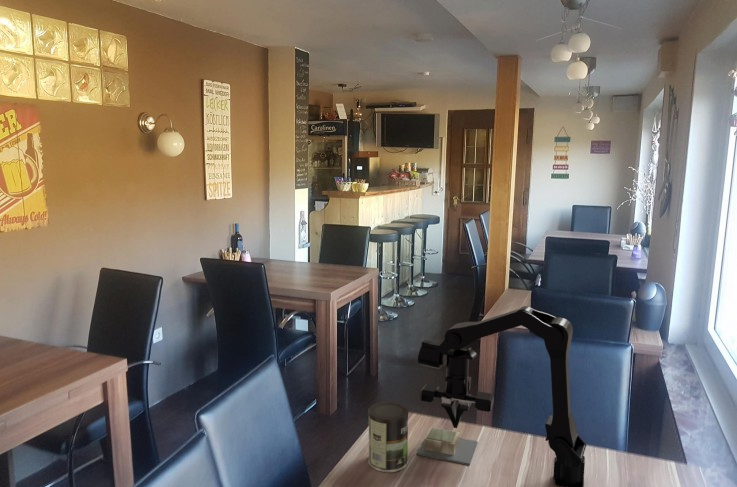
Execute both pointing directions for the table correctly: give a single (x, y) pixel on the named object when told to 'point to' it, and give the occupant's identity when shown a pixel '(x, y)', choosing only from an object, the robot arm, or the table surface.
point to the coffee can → (388, 436)
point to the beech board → (442, 441)
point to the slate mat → (461, 454)
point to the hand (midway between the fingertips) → (455, 427)
